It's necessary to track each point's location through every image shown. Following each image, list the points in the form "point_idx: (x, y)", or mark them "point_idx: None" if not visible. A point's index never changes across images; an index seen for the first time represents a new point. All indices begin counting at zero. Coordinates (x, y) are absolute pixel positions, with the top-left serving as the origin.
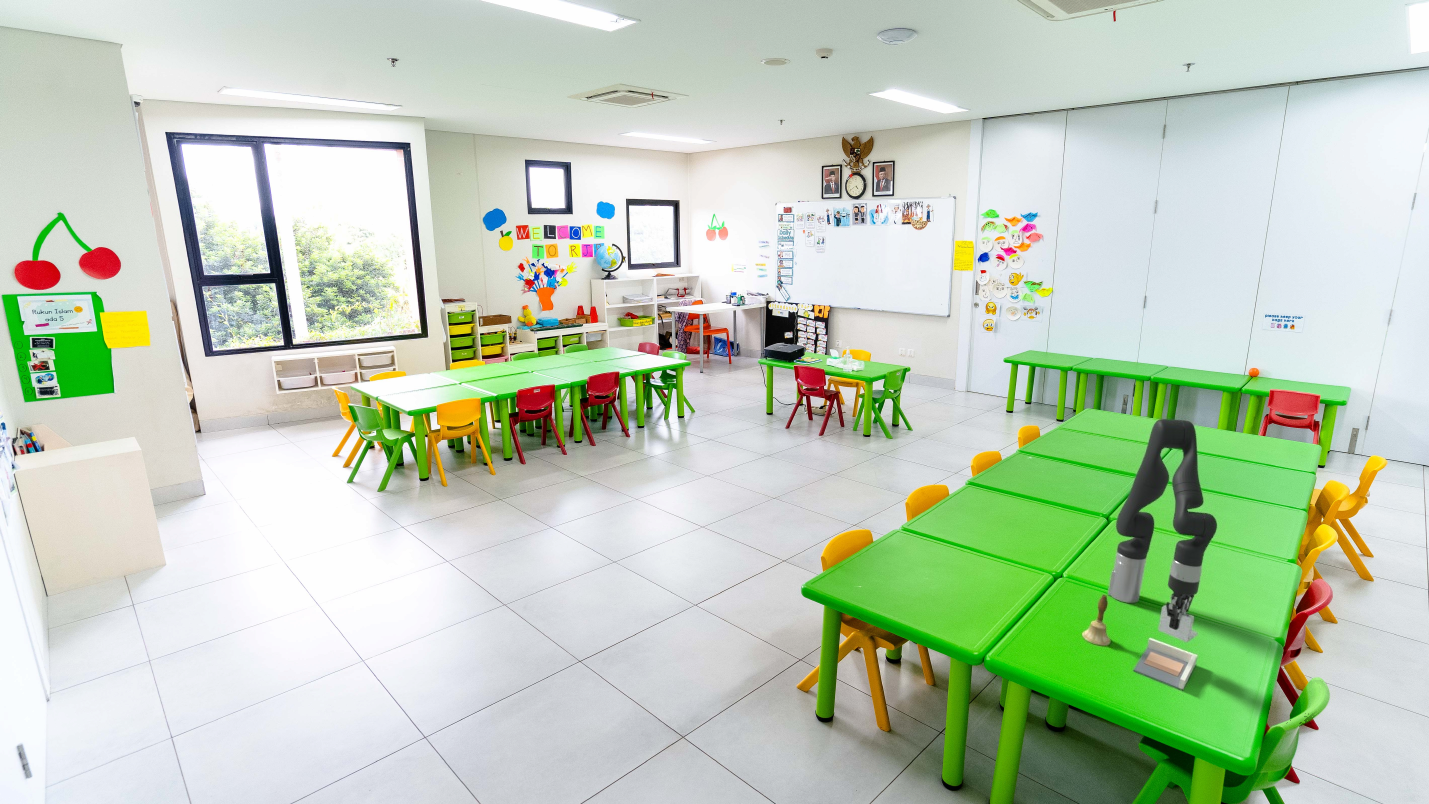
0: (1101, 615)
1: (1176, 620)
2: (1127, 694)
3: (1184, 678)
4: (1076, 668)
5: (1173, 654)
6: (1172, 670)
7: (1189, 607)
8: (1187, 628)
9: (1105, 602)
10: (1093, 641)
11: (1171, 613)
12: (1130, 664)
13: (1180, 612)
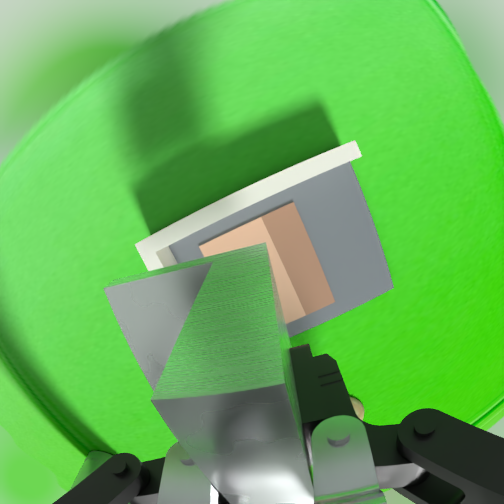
0: None
1: (344, 411)
2: (480, 212)
3: (343, 150)
4: (479, 331)
5: None
6: (279, 234)
7: (81, 481)
8: (276, 301)
9: None
10: (362, 410)
11: (422, 476)
12: (366, 313)
13: (381, 496)
